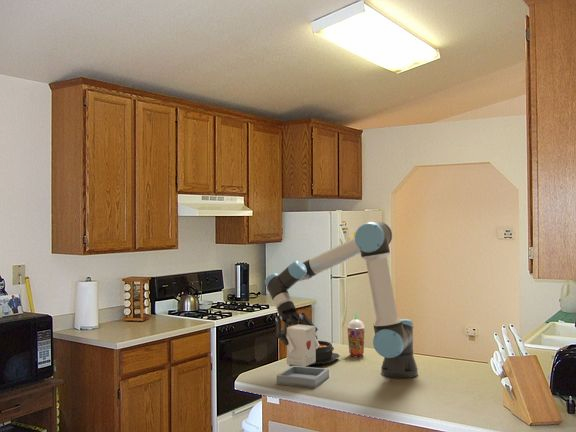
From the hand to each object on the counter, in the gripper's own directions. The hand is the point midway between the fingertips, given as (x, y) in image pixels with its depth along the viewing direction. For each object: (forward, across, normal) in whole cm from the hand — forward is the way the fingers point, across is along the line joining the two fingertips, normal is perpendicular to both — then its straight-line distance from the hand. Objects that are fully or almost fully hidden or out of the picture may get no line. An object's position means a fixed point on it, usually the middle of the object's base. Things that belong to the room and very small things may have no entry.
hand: (305, 349), depth 239 cm
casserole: (-7, -22, -27) cm, 35 cm away
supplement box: (+3, 0, -6) cm, 7 cm away
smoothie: (-7, -44, -26) cm, 52 cm away
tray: (+8, 0, -11) cm, 14 cm away
